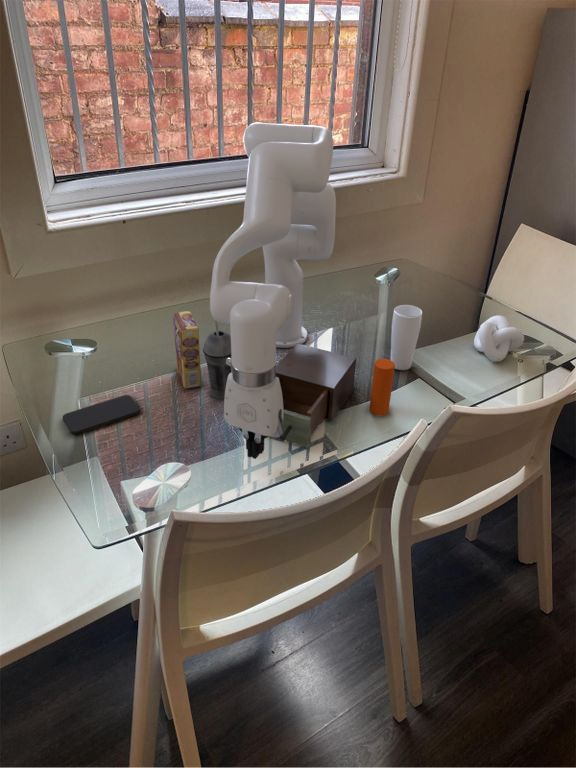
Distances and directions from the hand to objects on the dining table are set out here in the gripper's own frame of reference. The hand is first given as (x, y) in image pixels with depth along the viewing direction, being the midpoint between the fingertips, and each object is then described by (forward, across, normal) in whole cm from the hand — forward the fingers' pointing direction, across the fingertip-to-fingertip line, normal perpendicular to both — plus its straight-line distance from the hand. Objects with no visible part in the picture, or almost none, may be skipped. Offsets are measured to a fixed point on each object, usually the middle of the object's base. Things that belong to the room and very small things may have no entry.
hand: (255, 453), depth 113 cm
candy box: (+4, -29, +22) cm, 36 cm away
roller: (+4, +15, +30) cm, 33 cm away
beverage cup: (+4, -19, +20) cm, 28 cm away
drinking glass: (+4, +14, +50) cm, 52 cm away
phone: (+4, -38, +1) cm, 38 cm away
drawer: (+3, 0, +14) cm, 14 cm away
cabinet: (+4, 0, +28) cm, 28 cm away
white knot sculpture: (+4, +33, +67) cm, 74 cm away
